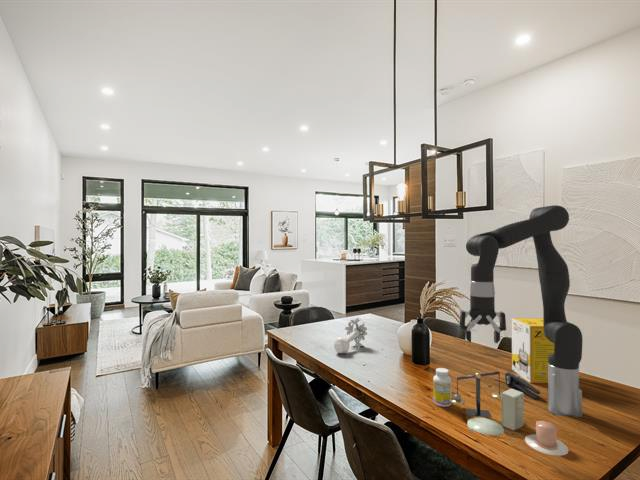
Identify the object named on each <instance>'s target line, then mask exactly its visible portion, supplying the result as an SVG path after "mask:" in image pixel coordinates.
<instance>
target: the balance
mask: <svg viewBox="0 0 640 480" xmlns="http://www.w3.org/2000/svg"><path fill="white" fill-rule="evenodd" d="M497 375H498V391H494V392H491V397H493V398H494V399H497V400H502V392H500V391H501V387H500V386H501V385H500V381H501V379H500V378H501V376H500V375H501V373H500V371H492V372H486V373H485V372H484V373H480V372H475V374H472V375H464V376H457V377H456V393H453V397H452V398H451V399H450V402H452V404H454V405H458V406H462V405H463V406H464V405H465V404H466V401H465V400H464V399H463V398H461V397H462V396H461V395H462V394H460V393H459V380H467V379H473V378H475V408H473V409H472V408H464V410H465V412H466V414H467V416H472V417H481V418H493V415H492V414H491V413H490V410H487V409H481V378H482V377H488V376H497Z"/></svg>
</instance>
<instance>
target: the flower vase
mask: <svg viewBox="0 0 640 480" xmlns="http://www.w3.org/2000/svg"><path fill="white" fill-rule="evenodd" d="M360 321H362V320H361V318H360V319H359V317H356V319H355V320H354V319H350V321H348V324H347V325H348V326H346V327H344V330H345V331H347V332H346V335H347V336H345V337H343V336H340V337H339V336H338V337H336V338H335V339H334V343H333V349H334V351H335V352H336V353H338V354H346V353H348V352H349V350H350V343H351V342H352V341H354V344H355V345H354V346H355V347H356V348H357V347H360V348H361V347H362V346H364V344H363V343H361V341H365V339H366V338H365V336H367V335H368V332H367V330H368V328H367V327H366V326H365V322H364V321H363V323H361V324H360V325H359V324H358V323H359V322H360ZM354 326H355V327H354ZM362 344H363V345H362Z"/></svg>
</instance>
